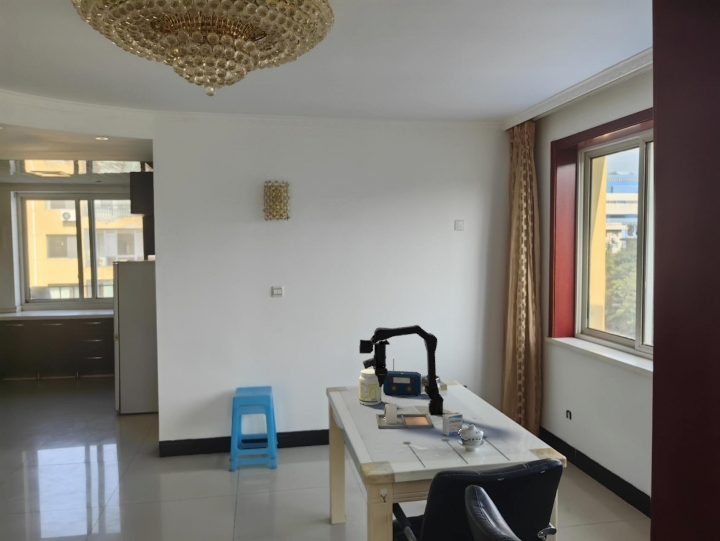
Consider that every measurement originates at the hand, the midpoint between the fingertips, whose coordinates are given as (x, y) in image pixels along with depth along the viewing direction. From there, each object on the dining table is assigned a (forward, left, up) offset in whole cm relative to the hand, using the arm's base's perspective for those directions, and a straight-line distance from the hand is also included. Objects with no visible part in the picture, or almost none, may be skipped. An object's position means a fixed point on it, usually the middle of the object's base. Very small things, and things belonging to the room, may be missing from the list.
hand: (379, 384), depth 261 cm
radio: (-15, -35, -15) cm, 41 cm away
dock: (-10, +14, -15) cm, 23 cm away
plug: (-4, +14, -14) cm, 20 cm away
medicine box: (-30, +29, -15) cm, 44 cm away
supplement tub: (+4, -19, -15) cm, 25 cm away
